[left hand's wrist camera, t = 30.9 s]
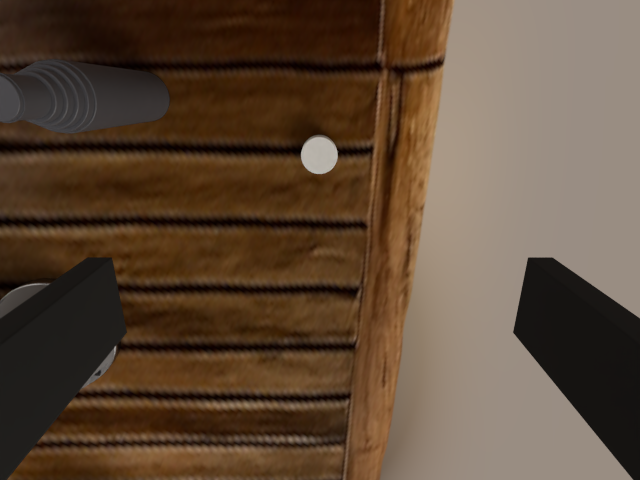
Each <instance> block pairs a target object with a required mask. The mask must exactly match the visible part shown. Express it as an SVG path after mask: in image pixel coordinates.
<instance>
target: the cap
mask: <svg viewBox="0 0 640 480" xmlns="http://www.w3.org/2000/svg"><path fill="white" fill-rule="evenodd" d="M337 157H338V154H337V149H336V146H335V144H334V142H333V141H332V140H331V139H330V138H329V137H327V136H324V135H315V136H312V137H310V138H309V139H308V140H307V141H306V142H305V143H304V145H303V148H302V151H301V159H302V162H303V165H304V166H305V167H306V168H307V169H308V170H309V171H310V172H312V173H316V174H323V173H326V172H328V171H330V170H331V169H332V168H333V167H334V166H335V164H336V162H337Z"/></svg>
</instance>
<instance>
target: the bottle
mask: <svg viewBox="0 0 640 480" xmlns="http://www.w3.org/2000/svg"><path fill="white" fill-rule="evenodd" d="M169 102H170V98H169V93H168V90H167V88H166V86H165V84H164V83H163V81H162V80H161V79H160V78H159V77H157V76H156V75H154V74H152V73H149V72H145V71H137V70H130V69H123V68H116V67H108V66H101V65H94V64H87V63H79V62H72V61H65V60H58V59H49V60H43V61H38V62H35V63H33V64H31V65H30V66H28V67H26V68H25V69H22V70H21V71H19V72H17V73H15V74H3V73H0V122H3V123H12V122H16V121H19V120H26V121H28V122H32V123H34V124H36V125H39V126H41V127H44V128H46V129H48V130H51V131H55V132H62V133H77V132H84V131H90V130H97V129H103V128H110V127H117V126H123V125H130V124H136V123H143V122H150V121H155V120H158V119H160V118H161V117H163V116H164V115H165V113H166V112H167V110H168V107H169Z"/></svg>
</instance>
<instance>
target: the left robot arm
mask: <svg viewBox="0 0 640 480" xmlns="http://www.w3.org/2000/svg"><path fill="white" fill-rule="evenodd" d="M126 333H127V331H126V326H125V321H124V316H123V311H122V306H121V301H120V296H119V291H118V286H117V281H116V276H115V271H114V266H113V261H112V258H86V259H85V260H83V261H82V262H81V263H79V264H78V265H76V266H75V267H73V268H72V269H70V270H69V271H68V272H66V273H65V274H63V275H62V276H60V277H59V278H58V279H38V280H33V281H30V282H27V283H25V284H23V285H21V286H19V287H17V288H16V289H14V290H13V291H11V292H10V293H8V294H7V295H6V296H4V297H3V298H2V299H1V301H0V480H7V479H8V477H9V476H10V475H11V474H12V473H13V471H14V470H15V469H16V468H17V466H18V465H19V464H20V463H21V462H22V460H23V459H24V458H25V457H26V455H27V454H28V453H29V452H30V451H31V449H32V448H33V447H34V446H35V444H36V443H37V442H38V441H39V439H40V438H41V437H42V436H43V435H44V433H45V432H46V431H47V430H48V428H49V427H50V426H51V425H52V424H53V422H54V421H55V420H56V419H57V417H58V416H59V415H60V414H61V413H62V411H63V410H64V409H65V408H66V406H67V405H68V404H69V403H70V401H71V400H72V399H73V398H74V397H75V395H76V394H77V393H78V392H79V390H80V389H82V388H84V387H85V386H87V385H88V384H90V383H92V382H93V381H95V380H96V379H98V378H99V377H100V376H102V375H103V374H104V373H105V372H106V371H107V370H108V368H109V367H110V366H111V364H112V363H113V362H114V361H115V359H116V357H117V355H118V353H119V350H120V346H121V339H122V338H123V337H124V335H125V334H126ZM513 333H514V334H515V335H516V337H517V338H518V339H519V340H520V341H521V343H522V344H523V345H524V346H525V348H526V349H527V350H528V351H529V352H530V354H531V355H532V356H533V357H534V359H535V360H536V361H537V362H538V363H539V365H540V366H541V367H542V368H543V370H544V371H545V372H546V373H547V375H548V376H549V377H550V378H551V379H552V381H553V382H554V383H555V384H556V386H557V387H558V388H559V389H560V390H561V392H562V393H563V394H564V395H565V397H566V398H567V399H568V400H569V401H570V403H571V404H572V405H573V406H574V408H575V409H576V410H577V411H578V412H579V414H580V415H581V416H582V417H583V419H584V420H585V421H586V422H587V423H588V425H589V426H590V427H591V428H592V430H593V431H594V432H595V433H596V435H597V436H598V437H599V438H600V439H601V441H602V442H603V443H604V444H605V446H606V447H607V448H608V449H609V450H610V452H611V453H612V454H613V455H614V457H615V458H616V459H617V460H618V462H619V463H620V464H621V465H622V466H623V468H624V469H625V470H626V471H627V473H628V474H629V475H630V476H631V477H632V479H633V480H640V318H638V317H637V316H636V315H634V314H633V313H631V312H630V311H628V310H627V309H626V308H624V307H623V306H621V305H620V304H618V303H617V302H615V301H614V300H613V299H611V298H610V297H608V296H607V295H605V294H604V293H602V292H601V291H600V290H598V289H597V288H595V287H594V286H592V285H591V284H590V283H588V282H587V281H585V280H584V279H582V278H581V277H580V276H578V275H577V274H575V273H574V272H572V271H571V270H570V269H568V268H567V267H565V266H564V265H562V264H561V263H559V262H558V261H557V260H555V259H554V258H528V261H527V266H526V271H525V276H524V281H523V286H522V291H521V296H520V301H519V306H518V311H517V316H516V321H515V326H514V331H513Z"/></svg>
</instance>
